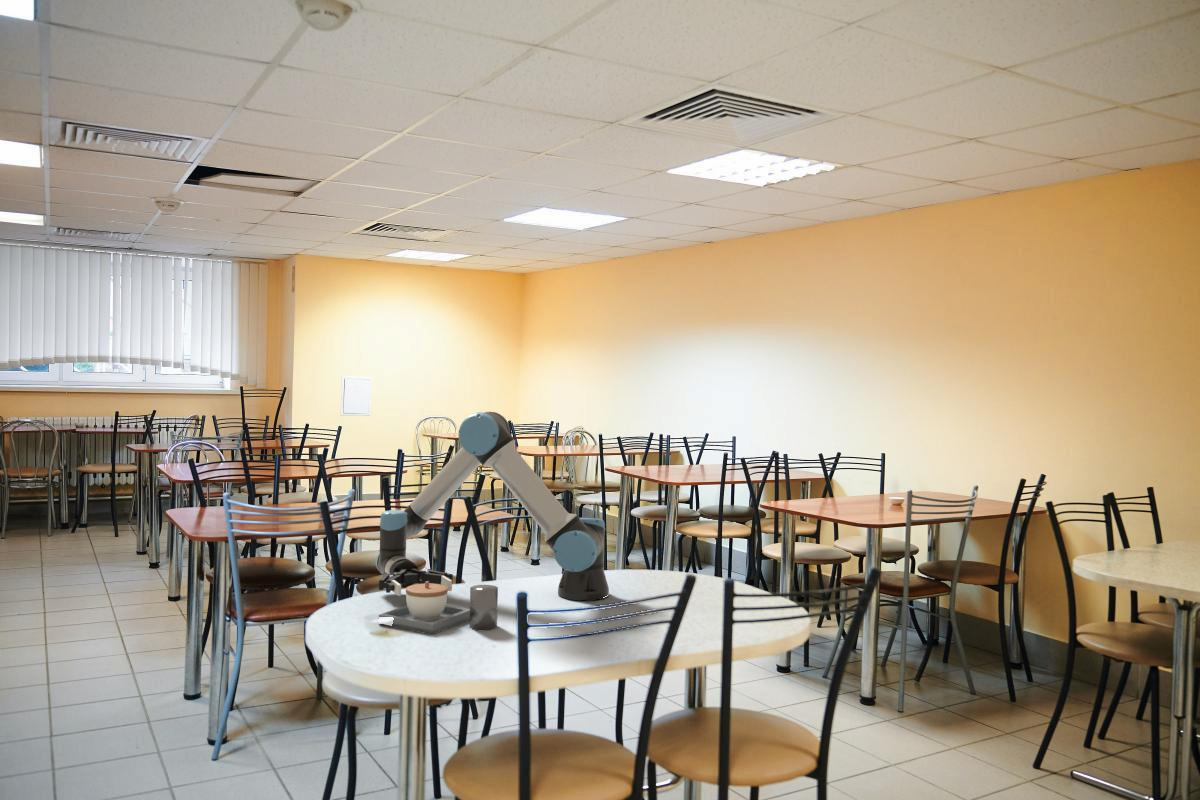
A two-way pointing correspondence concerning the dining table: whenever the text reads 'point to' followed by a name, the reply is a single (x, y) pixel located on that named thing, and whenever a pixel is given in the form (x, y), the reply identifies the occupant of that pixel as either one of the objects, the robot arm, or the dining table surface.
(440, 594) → the lidded jar
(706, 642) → the dining table surface
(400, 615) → the tray
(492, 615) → the metal tin
